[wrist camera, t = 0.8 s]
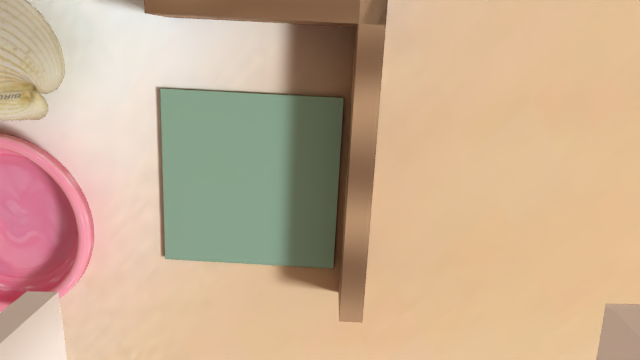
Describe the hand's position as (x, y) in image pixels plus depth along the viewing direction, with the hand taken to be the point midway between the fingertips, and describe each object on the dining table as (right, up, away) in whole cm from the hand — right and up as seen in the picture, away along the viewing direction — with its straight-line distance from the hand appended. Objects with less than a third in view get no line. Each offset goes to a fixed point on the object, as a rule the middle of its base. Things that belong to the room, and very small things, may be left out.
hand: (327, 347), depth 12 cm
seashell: (-20, +13, +21) cm, 31 cm away
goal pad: (-5, +4, +23) cm, 23 cm away
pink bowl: (-21, +2, +24) cm, 32 cm away
